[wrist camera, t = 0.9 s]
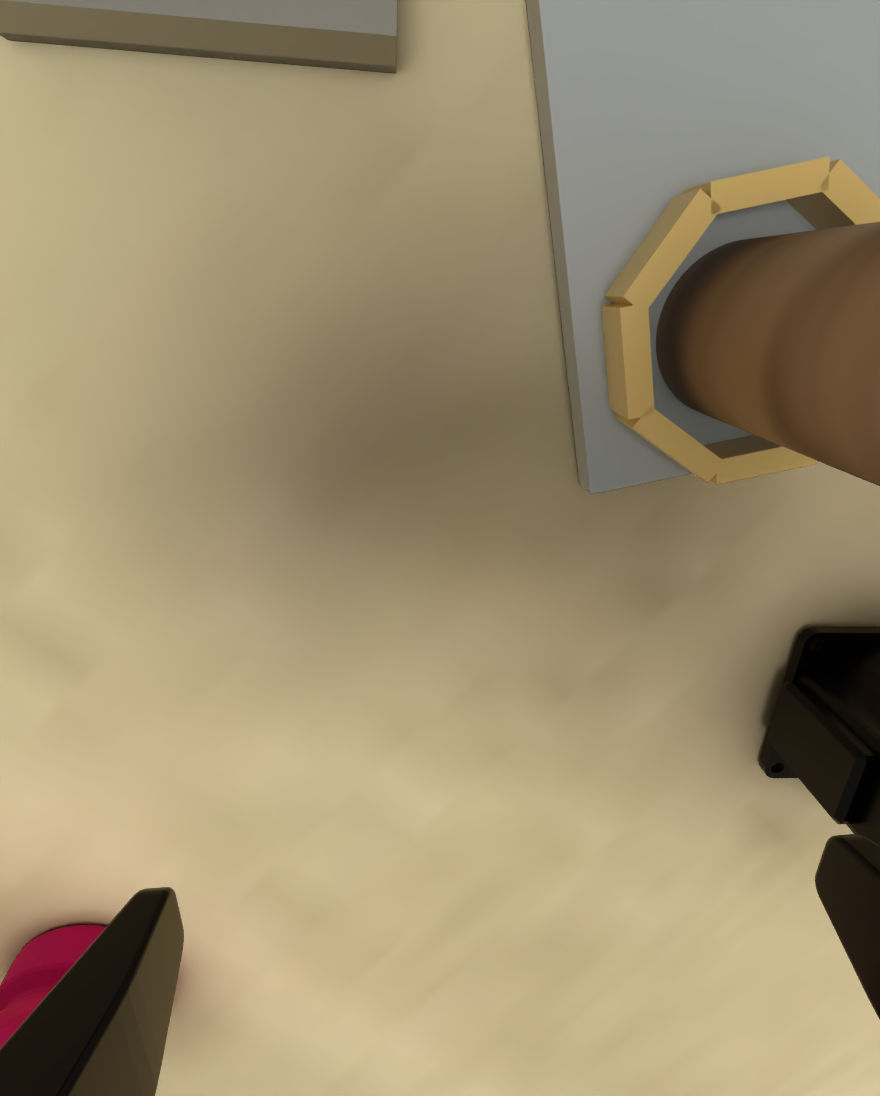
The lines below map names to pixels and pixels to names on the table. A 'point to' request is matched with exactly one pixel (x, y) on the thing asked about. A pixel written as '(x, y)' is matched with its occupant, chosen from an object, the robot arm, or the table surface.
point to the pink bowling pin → (40, 972)
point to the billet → (784, 342)
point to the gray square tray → (218, 29)
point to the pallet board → (688, 190)
